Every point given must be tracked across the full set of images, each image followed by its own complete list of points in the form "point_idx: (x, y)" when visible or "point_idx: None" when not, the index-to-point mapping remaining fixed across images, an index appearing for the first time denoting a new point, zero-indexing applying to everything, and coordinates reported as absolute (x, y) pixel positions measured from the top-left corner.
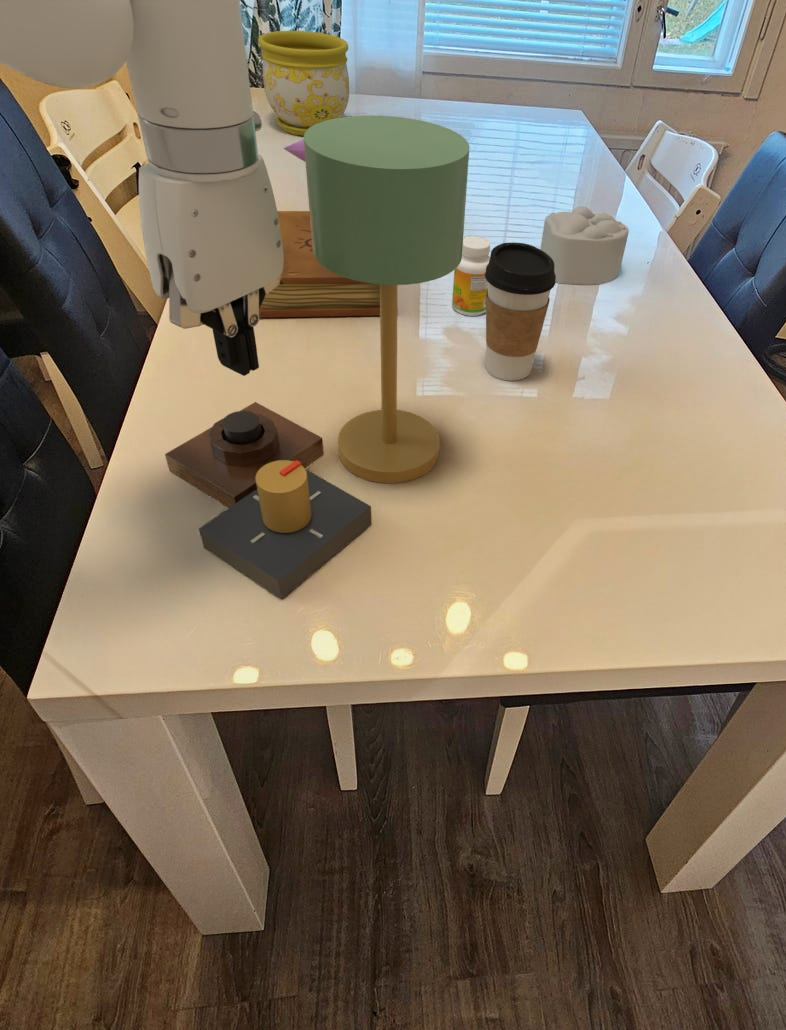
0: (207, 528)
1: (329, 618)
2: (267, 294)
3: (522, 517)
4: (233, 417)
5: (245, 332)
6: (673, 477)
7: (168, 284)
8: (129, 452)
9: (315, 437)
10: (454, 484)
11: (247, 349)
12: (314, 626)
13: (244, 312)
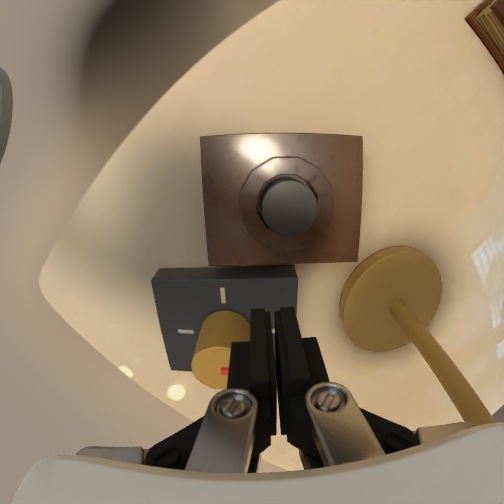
0: (157, 287)
1: (192, 384)
2: (492, 22)
3: (363, 408)
4: (289, 192)
5: (283, 434)
6: (434, 424)
7: (85, 480)
8: (195, 75)
9: (353, 255)
10: (375, 364)
11: (278, 399)
12: (180, 381)
13: (306, 462)
